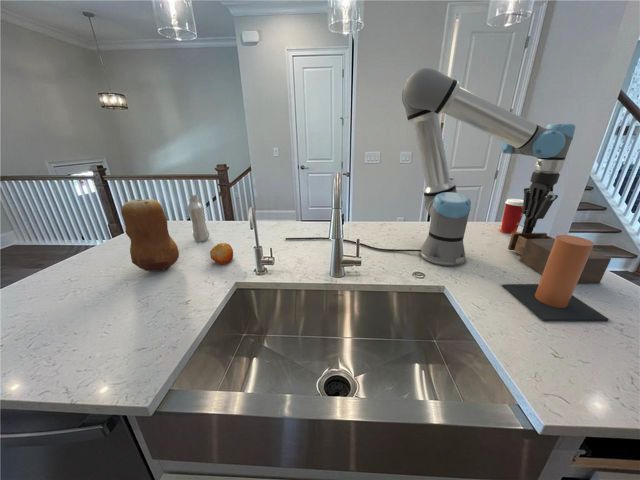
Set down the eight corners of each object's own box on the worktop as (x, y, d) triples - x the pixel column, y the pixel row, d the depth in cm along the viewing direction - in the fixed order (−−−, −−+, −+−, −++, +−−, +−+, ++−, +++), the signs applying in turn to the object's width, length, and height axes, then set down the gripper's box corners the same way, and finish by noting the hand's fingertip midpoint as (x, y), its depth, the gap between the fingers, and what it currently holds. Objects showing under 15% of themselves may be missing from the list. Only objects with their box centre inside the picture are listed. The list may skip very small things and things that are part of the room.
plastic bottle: (213, 239, 117) (205, 195, 109) (199, 244, 112) (190, 198, 104) (204, 236, 120) (196, 193, 112) (191, 241, 115) (181, 196, 107)
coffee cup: (522, 235, 117) (532, 203, 111) (502, 234, 118) (511, 202, 113) (513, 229, 124) (522, 198, 119) (494, 228, 126) (502, 197, 120)
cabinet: (519, 260, 95) (526, 238, 91) (557, 260, 94) (565, 238, 91) (555, 283, 80) (565, 258, 77) (599, 283, 80) (611, 258, 77)
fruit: (242, 253, 99) (232, 241, 93) (231, 271, 95) (219, 259, 89) (226, 250, 102) (215, 237, 96) (214, 266, 98) (202, 255, 92)
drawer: (500, 244, 106) (505, 229, 103) (531, 244, 106) (536, 228, 103) (535, 266, 88) (541, 248, 86) (572, 266, 88) (579, 248, 86)
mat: (543, 321, 65) (543, 319, 64) (502, 285, 79) (502, 284, 79) (607, 320, 64) (608, 319, 64) (554, 285, 79) (555, 284, 79)
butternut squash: (174, 256, 101) (158, 192, 91) (186, 268, 92) (170, 199, 82) (132, 268, 92) (109, 199, 82) (141, 283, 83) (117, 207, 73)
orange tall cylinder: (536, 302, 70) (559, 242, 64) (533, 290, 76) (553, 233, 69) (570, 310, 67) (598, 247, 60) (564, 297, 73) (589, 237, 66)
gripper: (522, 169, 97) (505, 228, 106) (551, 174, 85) (529, 240, 94) (542, 169, 97) (523, 228, 106) (573, 174, 85) (549, 240, 94)
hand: (526, 234), depth 100 cm, fingers closed
